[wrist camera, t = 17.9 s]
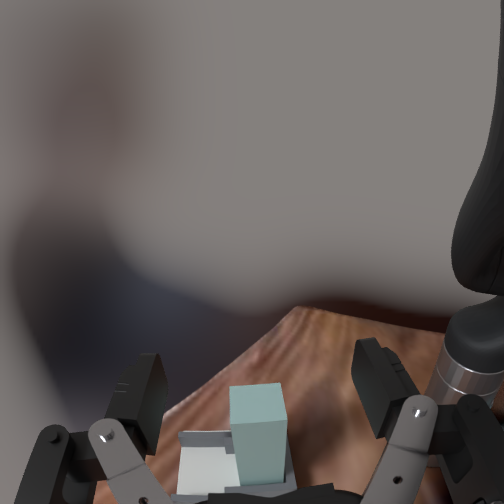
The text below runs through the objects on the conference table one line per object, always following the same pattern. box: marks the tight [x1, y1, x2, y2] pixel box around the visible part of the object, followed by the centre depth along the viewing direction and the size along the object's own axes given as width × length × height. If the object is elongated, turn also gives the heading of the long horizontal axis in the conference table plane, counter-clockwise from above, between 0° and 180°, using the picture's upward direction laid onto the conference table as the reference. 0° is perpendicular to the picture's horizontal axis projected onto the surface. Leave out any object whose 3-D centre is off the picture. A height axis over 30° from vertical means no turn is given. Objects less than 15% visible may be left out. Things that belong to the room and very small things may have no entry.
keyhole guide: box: [171, 430, 297, 504], centre depth 31 cm, size 14×15×3 cm
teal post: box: [230, 383, 287, 486], centre depth 29 cm, size 5×5×14 cm
